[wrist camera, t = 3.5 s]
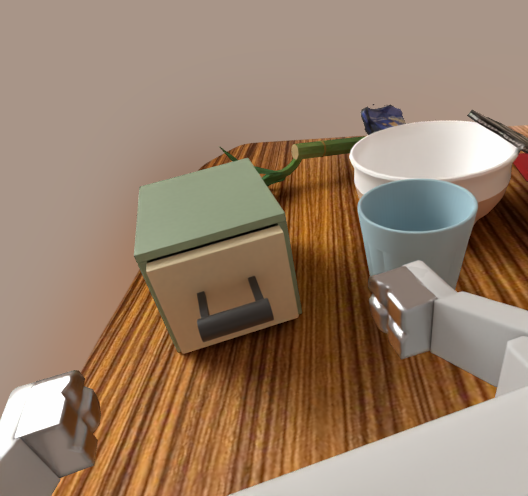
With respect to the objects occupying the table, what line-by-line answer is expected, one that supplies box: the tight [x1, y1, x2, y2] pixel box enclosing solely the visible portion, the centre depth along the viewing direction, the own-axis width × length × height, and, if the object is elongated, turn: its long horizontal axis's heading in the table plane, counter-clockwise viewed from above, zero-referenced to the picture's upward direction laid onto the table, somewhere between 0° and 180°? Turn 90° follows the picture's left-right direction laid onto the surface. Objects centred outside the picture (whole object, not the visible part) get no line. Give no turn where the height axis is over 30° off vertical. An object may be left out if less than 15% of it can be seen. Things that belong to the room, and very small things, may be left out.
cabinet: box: [134, 158, 302, 352], centre depth 36 cm, size 13×11×10 cm
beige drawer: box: [146, 225, 299, 354], centre depth 33 cm, size 17×10×9 cm, turn 14°
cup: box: [358, 179, 478, 290], centre depth 29 cm, size 8×8×10 cm
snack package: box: [361, 104, 406, 135], centre depth 54 cm, size 12×6×12 cm
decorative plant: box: [220, 136, 366, 186], centre depth 56 cm, size 6×8×30 cm
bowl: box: [349, 121, 521, 224], centre depth 42 cm, size 16×16×8 cm
